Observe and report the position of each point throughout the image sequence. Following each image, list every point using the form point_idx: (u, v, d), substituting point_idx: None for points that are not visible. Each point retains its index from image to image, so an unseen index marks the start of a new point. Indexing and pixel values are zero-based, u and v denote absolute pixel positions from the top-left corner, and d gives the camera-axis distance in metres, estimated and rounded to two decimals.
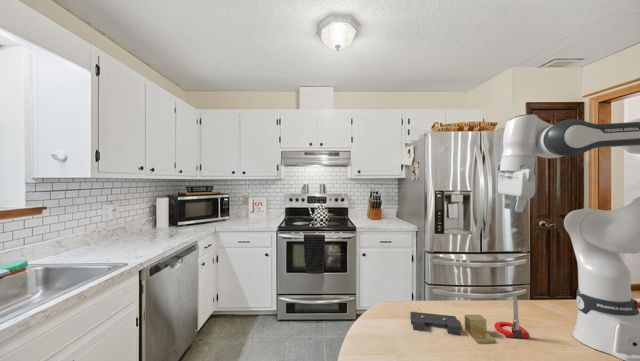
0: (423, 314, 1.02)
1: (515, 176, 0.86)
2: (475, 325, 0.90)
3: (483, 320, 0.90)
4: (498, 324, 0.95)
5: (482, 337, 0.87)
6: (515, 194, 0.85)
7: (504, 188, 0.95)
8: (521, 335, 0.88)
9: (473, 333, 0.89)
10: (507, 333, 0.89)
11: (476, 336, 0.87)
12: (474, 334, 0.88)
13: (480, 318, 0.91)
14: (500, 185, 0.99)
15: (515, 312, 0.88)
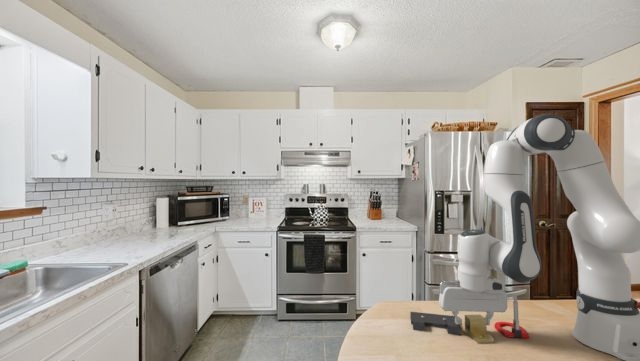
0: (423, 314, 1.02)
1: None
2: (475, 325, 0.90)
3: (483, 320, 0.90)
4: (498, 324, 0.95)
5: (482, 337, 0.87)
6: None
7: None
8: (521, 335, 0.88)
9: (473, 333, 0.89)
10: (507, 333, 0.89)
11: (476, 336, 0.87)
12: (474, 334, 0.88)
13: (480, 318, 0.91)
14: None
15: (515, 312, 0.88)
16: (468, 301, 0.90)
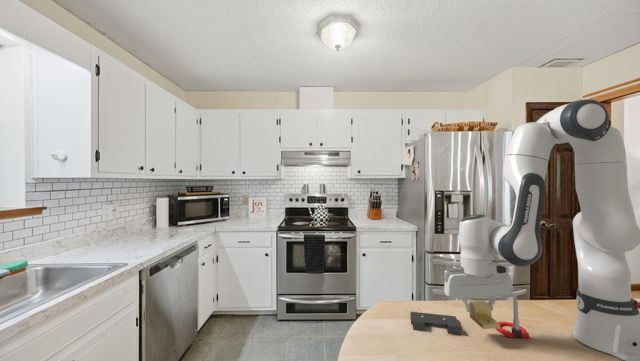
0: (423, 314, 1.02)
1: None
2: (480, 311, 0.89)
3: (488, 305, 0.89)
4: None
5: (488, 322, 0.86)
6: None
7: None
8: (521, 335, 0.88)
9: (478, 319, 0.88)
10: (507, 333, 0.89)
11: (481, 322, 0.86)
12: (479, 320, 0.87)
13: (485, 303, 0.90)
14: None
15: (515, 312, 0.88)
16: (474, 287, 0.89)
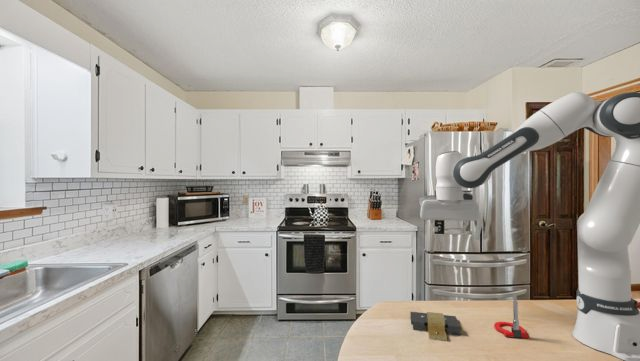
0: (423, 314, 1.02)
1: None
2: (433, 322, 0.92)
3: (441, 318, 0.91)
4: (498, 324, 0.95)
5: (436, 334, 0.89)
6: None
7: None
8: (521, 335, 0.88)
9: (430, 329, 0.91)
10: (507, 333, 0.89)
11: (430, 332, 0.90)
12: (430, 330, 0.91)
13: (440, 316, 0.92)
14: None
15: (515, 312, 0.89)
16: (443, 211, 1.06)
